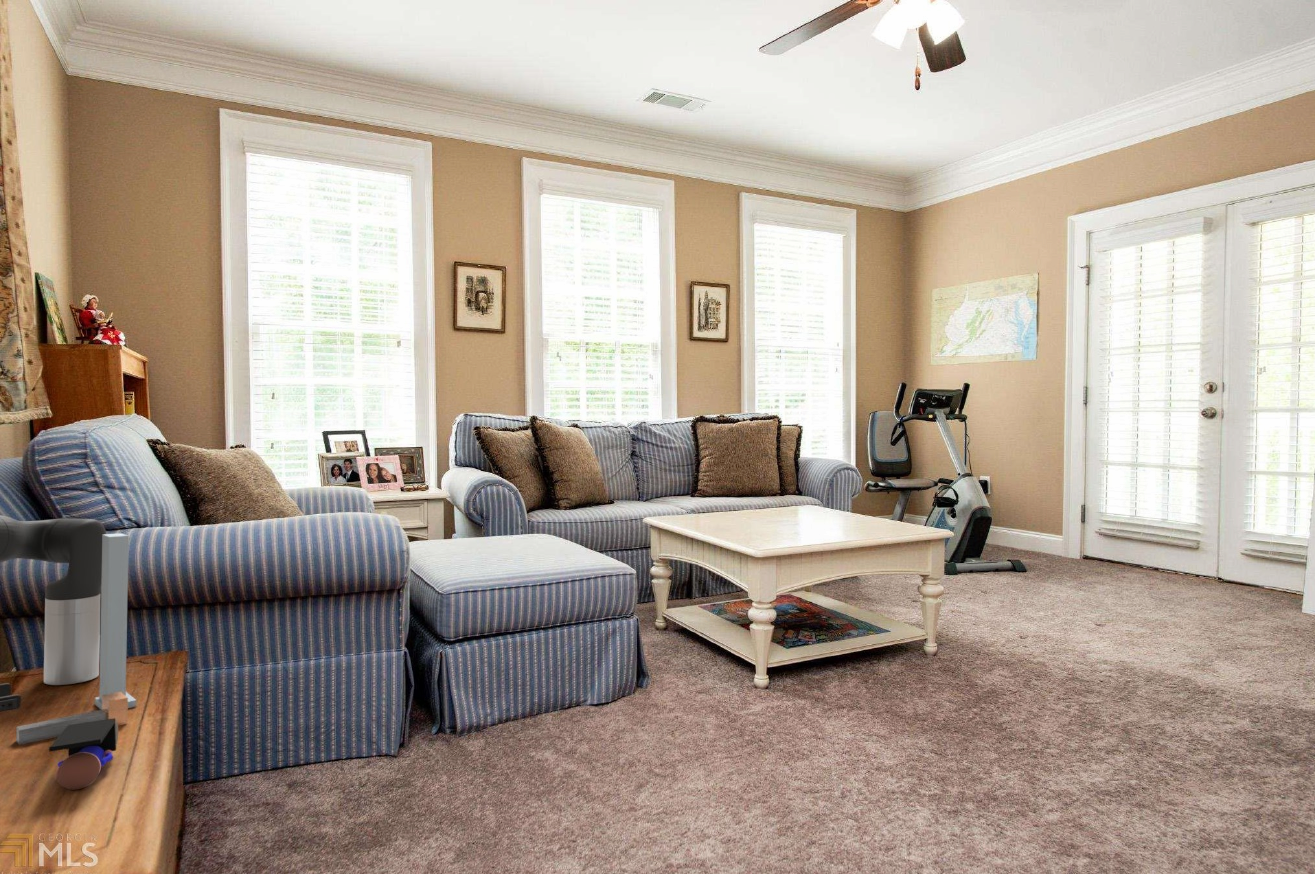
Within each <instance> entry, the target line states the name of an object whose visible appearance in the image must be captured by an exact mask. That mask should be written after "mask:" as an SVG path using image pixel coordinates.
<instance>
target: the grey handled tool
mask: <svg viewBox="0 0 1315 874" xmlns="http://www.w3.org/2000/svg"><path fill="white" fill-rule="evenodd" d="M128 709H129V708H128V698H127V697H126V696H125V695H124V694H123V693H122V692H117V693H112V694H107V695H102V710H101V709H99V710H93V711H89V712H83V713H78V714H74V715H69V716H64V717H59V718H53V719H48V720H43V721H42V720H41V721H38V722H33V723H28V724H24V725H23V724H22V725H18V726H16V743H17V744H18V745H19V746H20V745H25V744H31V743H35V742H39V741H40V742H41V741H44V740H48V739H54V738H58V737H59V735H60V734H61V733H62V732H63V731H64V730H65V729H66V727H67V726H68V725H72V724H79V723H86V722H92V721H99V720H106V719H113V718H115V722H117V723H118V727H119V726H123V725H128Z"/></svg>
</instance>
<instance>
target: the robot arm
mask: <svg viewBox="0 0 1315 874" xmlns="http://www.w3.org/2000/svg"><path fill="white" fill-rule="evenodd" d="M103 534H107V531H106V528H105V526H104V525H103V523H102V522H101V521H99V520H97V519H94V518H53V519H44V520H43V519H42V520H25V521H24V520H18V519H15V518H13V517H11V516H7V515H1V514H0V563H4V562H7V561H10V560H15V559H23V560H33V561H42V562H47V563H54V564H55V563H56V564H68V566H67V568H68V569H67V572H66V574H65V576H63V577H62V578H60V579H57V580H54V581H51V582H49V583H48V584H47V585H46V587H45V593H44V594H45V595H44V643H43V644H44V646H43V647H44V648H43V649H44V650H43V651H44V652H43V653H44V654H43V655H44V656H43V658H44V659H43V684H46V685H49V686H62V685H63V686H65V685H72V684H77V683H78V684H79V683H83V682H88V681H91V680H93V679H96V678H98V677H99V676H100V641H101V587H102V535H103ZM21 703H22V696H21V695H20V694H18V693H17V694H12V685H11V684H10V683H9V682H5V683H0V713H4V712H8V711H14V710H18V709H20V708H21V706H22V704H21Z"/></svg>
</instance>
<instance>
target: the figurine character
mask: <svg viewBox="0 0 1315 874" xmlns="http://www.w3.org/2000/svg"><path fill="white" fill-rule="evenodd" d="M118 740H119V726H118V723H117V722H115V718H113V719H106V720H99V721H92V722H86V723H79V724H72V725H68V726H67V727H66V729H65V730H64V731H63V732H62V733H61V734H60V735H59V737H56V738H55V740H54V741H53V743H51V745H50V746H49V747H48V751H49V752H56V751H60V750H62V751H63V750H68V751H67V753H68V757H67V758H65V759H63V760H61V761H59V762H58V763H57V766H58V769H57V772H56V779H57V782H58V784H59V785H60V786H61V787H63V788H65V789H67V790H71V791H72V790H80V789H83V788H86V787H88V786H90V785H91V784H92V783H94V782H95V780H97V778H98V777H99V775H100V772H101V768H102V767H103V766H105V765H106V763H108V762H110V761H112V760H113V759H114V756H113V752H115V751H116V750H117V744H118Z"/></svg>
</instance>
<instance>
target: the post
mask: <svg viewBox="0 0 1315 874" xmlns="http://www.w3.org/2000/svg"><path fill="white" fill-rule="evenodd" d="M129 537H130V536H129V535H127V534H125V533H121V532H120V533H106V534H103V535H102V585H101V590H100V648H99V696H97V697H94V705H95V706H96V707H97V708H98V709H99V710H102V695H107V694H112V693H117V692H122V693H123V694H124V695H125V696H126V697H127V698H128V709H131V708H136V707H137V699H136V698H135V697H133V696H132V695H131V694H130V693H128V692H127V689H126V688H127V687H126V686H127V646H128V644H127V641H128V640H127V639H128V638H127V636H128V633H127V632H128V592H129V591H128V590H129V588H128V586H129V585H128V584H129V583H128V581H129V540H130V539H129Z"/></svg>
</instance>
